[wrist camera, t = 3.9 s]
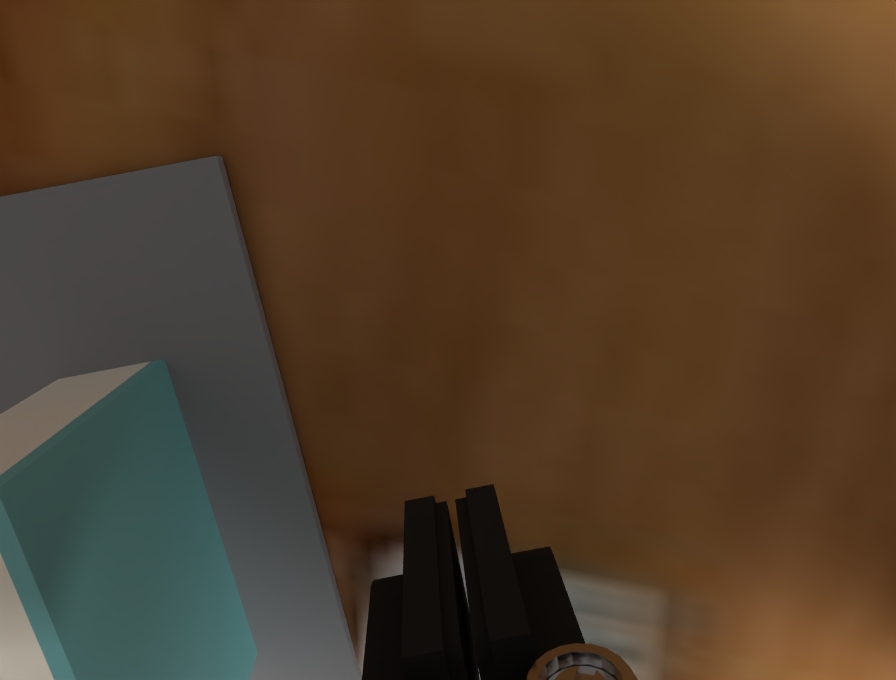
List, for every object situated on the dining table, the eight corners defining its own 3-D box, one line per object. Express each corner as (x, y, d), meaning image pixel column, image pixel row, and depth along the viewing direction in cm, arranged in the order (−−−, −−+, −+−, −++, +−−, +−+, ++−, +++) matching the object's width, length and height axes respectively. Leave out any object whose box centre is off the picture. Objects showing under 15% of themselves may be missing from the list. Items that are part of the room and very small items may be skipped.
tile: (164, 358, 14) (-3, 489, 9) (257, 653, 17) (173, 915, 11) (58, 379, 14) (-180, 523, 9) (164, 670, 17) (32, 942, 11)
